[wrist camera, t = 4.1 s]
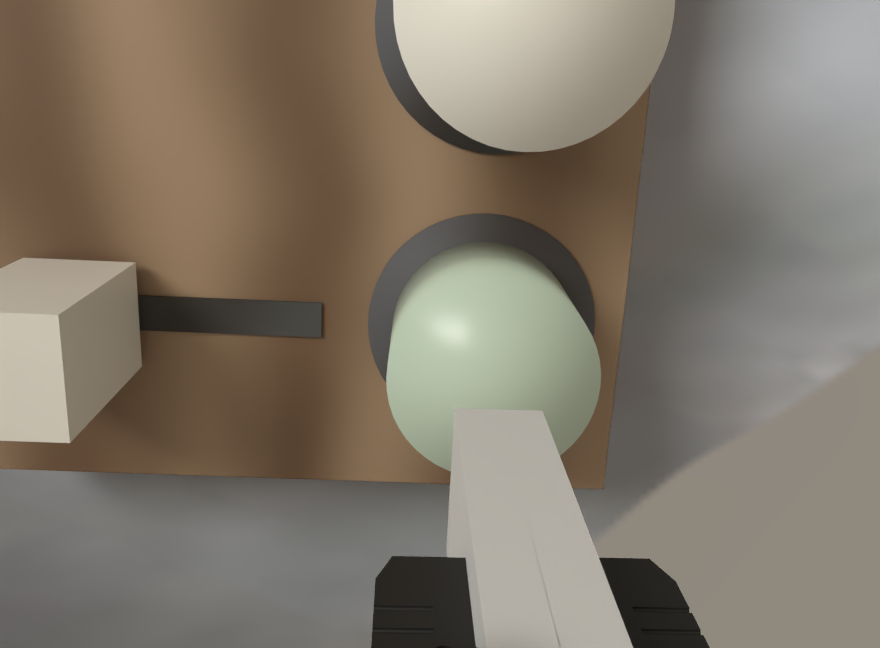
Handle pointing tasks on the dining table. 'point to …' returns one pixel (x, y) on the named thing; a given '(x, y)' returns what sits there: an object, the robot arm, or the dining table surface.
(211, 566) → the dining table surface
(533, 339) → the button sage
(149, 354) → the console
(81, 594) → the dining table surface
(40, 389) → the slider ivory
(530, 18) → the button ivory
